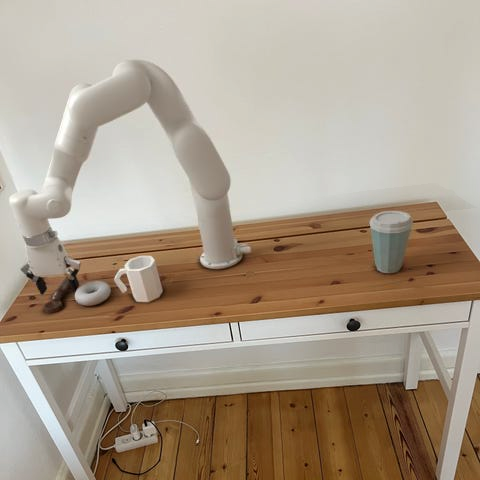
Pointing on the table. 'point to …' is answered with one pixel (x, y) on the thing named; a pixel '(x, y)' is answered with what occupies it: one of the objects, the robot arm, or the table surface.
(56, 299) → the spoon
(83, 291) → the donut
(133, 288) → the mug
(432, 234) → the table surface
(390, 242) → the disposable coffee cup
